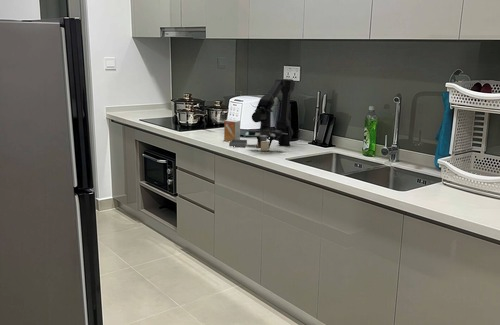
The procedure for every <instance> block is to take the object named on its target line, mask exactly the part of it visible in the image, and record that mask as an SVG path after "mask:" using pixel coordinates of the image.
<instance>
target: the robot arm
mask: <svg viewBox="0 0 500 325" xmlns="http://www.w3.org/2000/svg"><path fill="white" fill-rule="evenodd" d="M295 86H296V83H295V81H294V80H293V78H292V79H290V78H276V79H275V82H274V83H273V85H272V86H271V88H270V89H269V91H268V92H267V94H265V95H262V96H261V98H260V99H259V101H258V103H257V106H256V108H255V110H254V111H253V113H252V114H251V120H252V122H254V123H260V125H259V126H260V127H259V130H257V129H255V128H250V129H249V130H248V132H249V135H255V136H254V138H256V139H258V142H259V145H260V148H259V149H261V137H260V135H266V136H267V137H268V136H270V137H269V141H268V142H269V149H270V148H271V144H272V142H273V140H274V138H276V137H278V140H277V141H278V142H277V143H278V145H279V146H284V147H285V146H287V147H290V146H291V141H290V140H291V137H292V136H293V135H294V130H293V128H292V126H291V124H292V123H291V121H290V119H289V116H290V115H289V114H290V105H291V104H290V103H291V94H292V93H293V91H294V90H295ZM280 92H281V106H280V115H279V116H280V118H278V120H277V121H276V126H275V129H273V128H274V127H273V126H271V123H272V122H271V121H272V120H271V119H272V112H273V109H272V108H273V107H274V105H275V99H276V98H277V96H278V94H279V93H280Z"/></svg>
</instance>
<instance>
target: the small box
mask: <svg viewBox="0 0 500 325" xmlns="http://www.w3.org/2000/svg"><path fill="white" fill-rule="evenodd" d="M223 124H224V126H223V127H224V128H223V129H224V130H223V131H224V132H223V134H224V136H223V141H224V142H229V141H231V140H232V139H235V140H241V120H237V119H226V120H225V119H224V123H223Z"/></svg>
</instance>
